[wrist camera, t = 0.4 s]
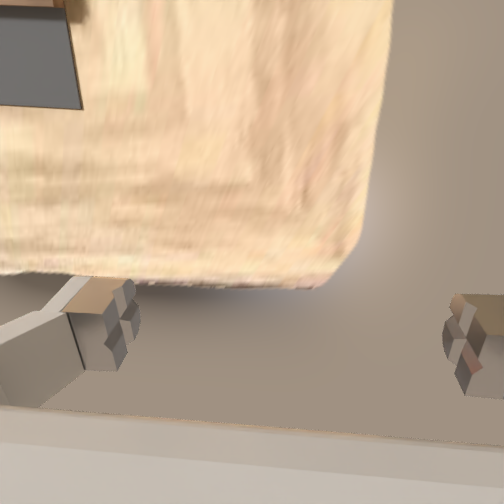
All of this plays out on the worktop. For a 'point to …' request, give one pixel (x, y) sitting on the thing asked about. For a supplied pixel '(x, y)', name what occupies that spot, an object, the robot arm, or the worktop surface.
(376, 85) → the worktop surface
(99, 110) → the worktop surface
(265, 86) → the worktop surface
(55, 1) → the brown wooden flat board
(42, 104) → the mat
